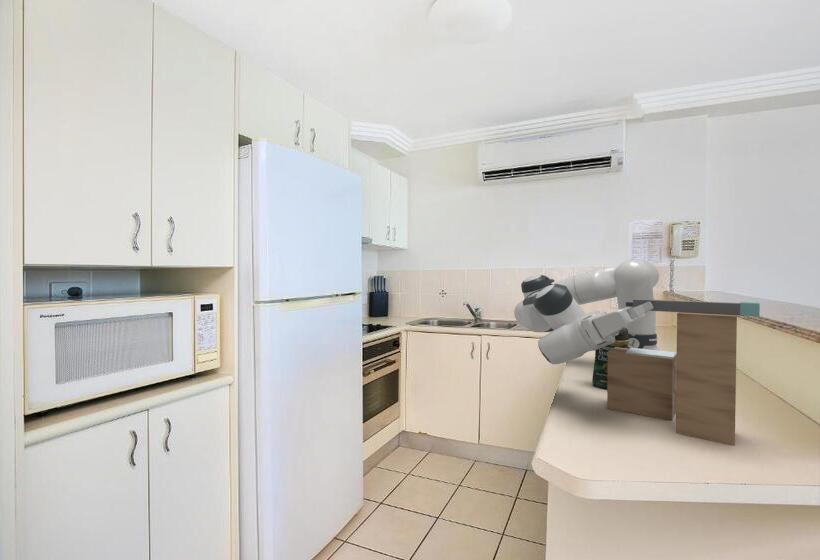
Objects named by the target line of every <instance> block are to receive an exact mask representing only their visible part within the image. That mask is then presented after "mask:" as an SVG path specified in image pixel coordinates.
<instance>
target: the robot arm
mask: <svg viewBox="0 0 820 560" xmlns="http://www.w3.org/2000/svg"><path fill="white" fill-rule="evenodd" d="M659 279H660V273H659V270H658V268H657V266H655V264H653V263H652V262H650V261H647V260H641V259H628V260H625V261H623V262H622V263H620V264H618V265H613V266H610V267H604V268H599V269H596V270H592V271H588V272H584V273H580V274H576V275H572V276H569V277H566V278H564V279H561V280H559V281H557V282H555V280H554V279H553V278H550V277H548V276H547V275H543V274H534V275H530V276H528V277H526V278H525V279H524V280H523V281H522V283H521V284H520V287H521V293H522V294H523V298H524V299H523V300H521V301H519V302H518V303H517V304H516V305H515V307H514V311H513V312H514V314H513V315H514V318H515V320H516V322H517V323H518V324H519V325H520V326H521V327H523V328H525V329H526V330H528V331H531V332H534V333H547V334H545V335H543V336H542V337H541V338H540V339H539V340H537V346H538V349H539V352H540V353H541V355H543V357H544V358H545V360H546V361H547V362H549V363H550V364H551V365H560V364H564V363H567V362H570V361H573V360H576V359H579V358H581V357H583V356H584V355H585V354H587V353H588V352H589V353H590V352H592V351H595V350H597V349H600V348H602V347H605V346H607V345H609V344H612V343H614V342H615V336H617V335H618V334H619V330H620V329H622V328H627V329H628V334H629V344H628V346H627V349H630V348H638V349H648V350H658V351H661V349H660V348H658V346H657V344H658V336H657V335H658V334H657V333H656V312H657V311H649V310H651V309H653V308H654V305H653V304H652V302H646V303H644V304H642V305H639V306H637V307H634V308H633V307H629V306H626V302H633V300H634V299H644V300H655V297H654V288H655V286H656V285H657V284H658V282H659ZM554 282H555V283H554ZM614 298H616V300H617V307H618V309H616V310H614V311H610V312H607V311H603V312H600V311H599V310H597V309H595V310H592V311H591V312H589V313H586V312H585V310H584V309H583V308H582V307H581V305H584V304H585V305H586V304H591V303H595V302H600V301H604V300H608V299H614Z"/></svg>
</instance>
